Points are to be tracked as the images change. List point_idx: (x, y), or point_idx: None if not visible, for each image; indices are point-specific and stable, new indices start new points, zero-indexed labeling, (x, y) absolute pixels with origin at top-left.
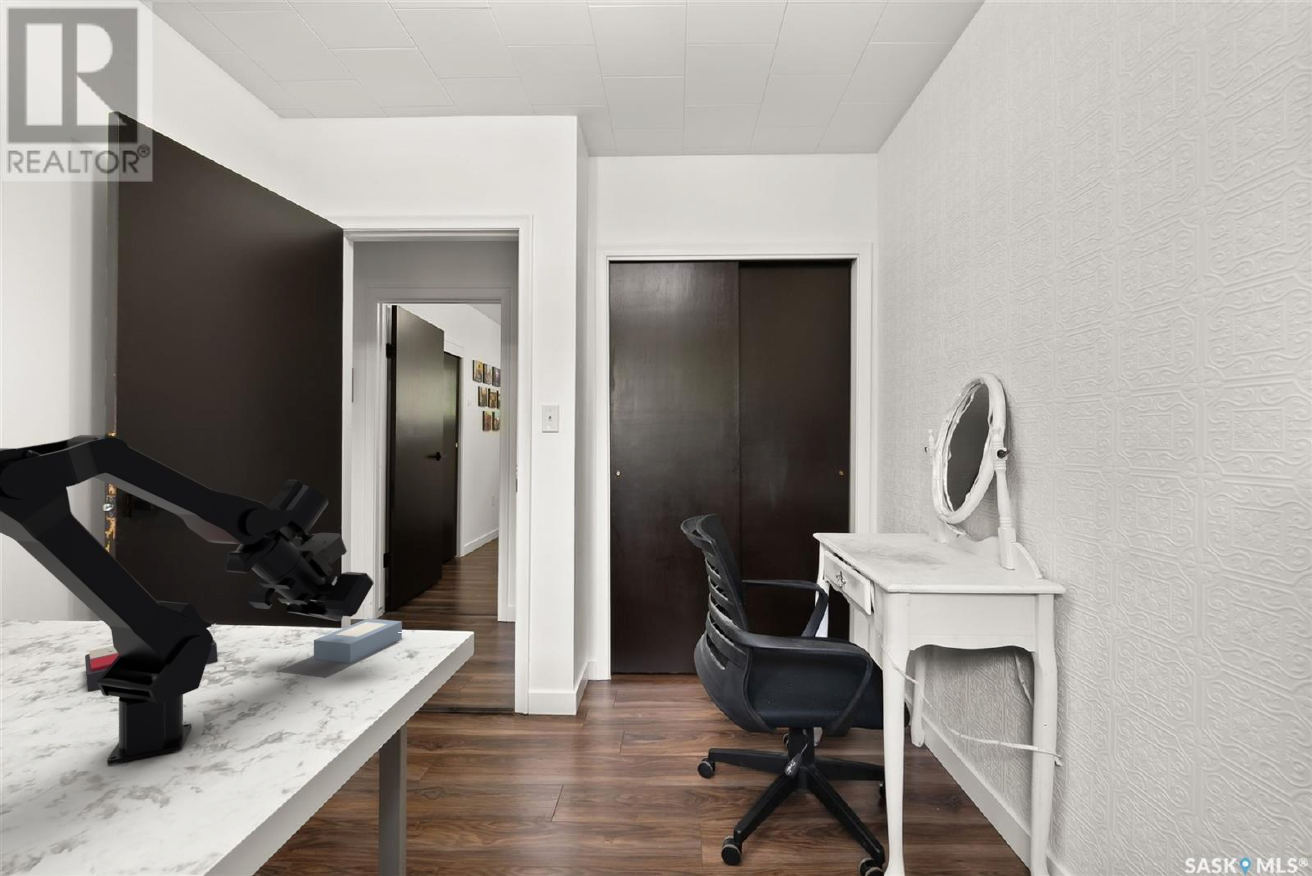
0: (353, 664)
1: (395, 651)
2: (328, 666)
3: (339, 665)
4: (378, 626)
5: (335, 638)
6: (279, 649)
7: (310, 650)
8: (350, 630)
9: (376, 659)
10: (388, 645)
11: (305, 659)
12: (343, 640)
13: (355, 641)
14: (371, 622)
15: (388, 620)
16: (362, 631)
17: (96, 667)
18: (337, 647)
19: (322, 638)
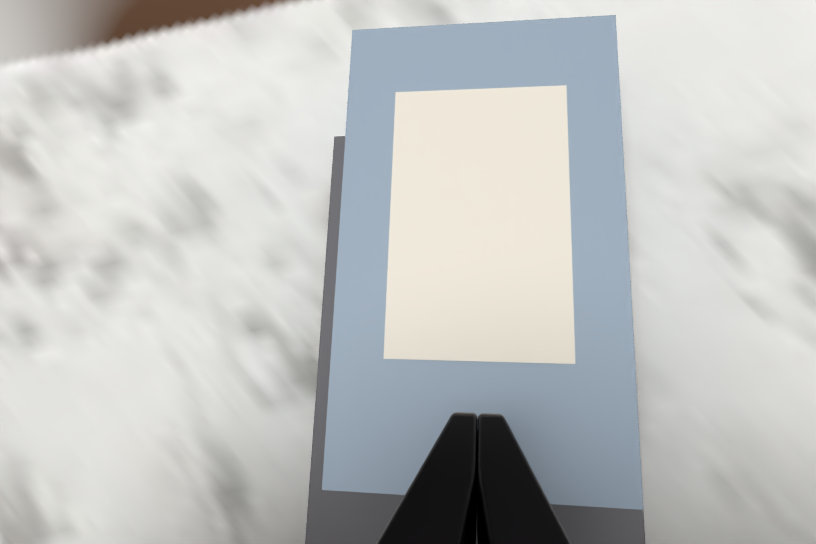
0: None
1: (679, 225)
2: None
3: (578, 537)
4: (546, 143)
5: (443, 426)
6: (58, 354)
7: (218, 327)
8: (422, 260)
9: (672, 358)
10: None
11: (314, 491)
12: (533, 453)
13: (638, 453)
14: (430, 85)
15: (511, 23)
16: (517, 256)
17: None
18: None
19: (356, 447)
